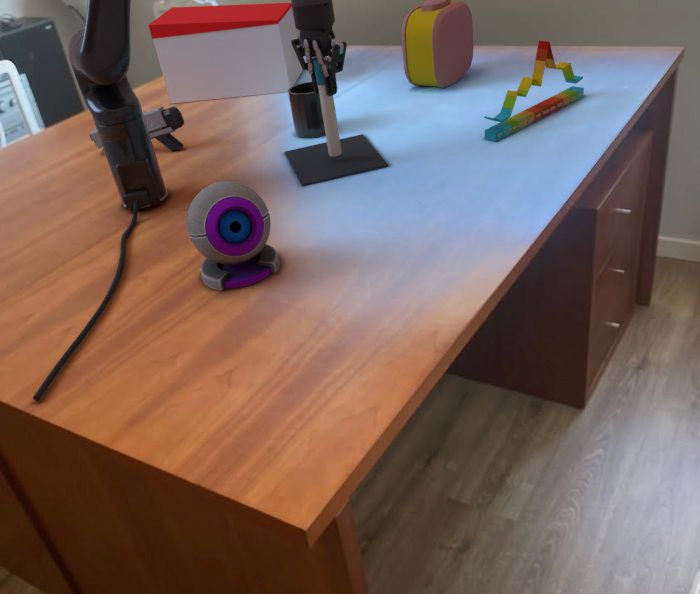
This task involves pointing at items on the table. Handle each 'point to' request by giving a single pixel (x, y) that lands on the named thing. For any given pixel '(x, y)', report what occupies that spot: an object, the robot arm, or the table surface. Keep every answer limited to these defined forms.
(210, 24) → the red-lidded white box
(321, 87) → the marker
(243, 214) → the webcam
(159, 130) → the gun
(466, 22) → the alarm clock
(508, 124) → the chart
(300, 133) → the pen holder
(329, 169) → the desk mat
